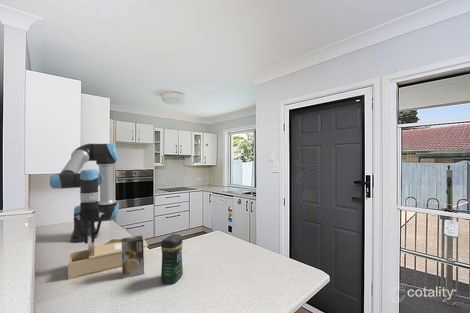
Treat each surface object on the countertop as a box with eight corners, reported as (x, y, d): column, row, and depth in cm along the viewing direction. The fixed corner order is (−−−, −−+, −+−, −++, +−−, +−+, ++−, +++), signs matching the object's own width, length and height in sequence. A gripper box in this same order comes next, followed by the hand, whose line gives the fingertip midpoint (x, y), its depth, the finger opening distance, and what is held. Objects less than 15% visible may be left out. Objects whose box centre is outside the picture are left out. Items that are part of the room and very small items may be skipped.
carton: (94, 256, 123) (94, 248, 123) (112, 245, 139) (111, 238, 139) (109, 256, 123) (109, 248, 123) (125, 245, 139) (124, 238, 139)
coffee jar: (175, 285, 92) (174, 240, 93) (158, 283, 94) (157, 239, 95) (185, 274, 102) (185, 233, 102) (170, 272, 104) (169, 232, 104)
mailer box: (71, 267, 110) (71, 252, 110) (128, 254, 124) (128, 241, 124) (68, 279, 98) (68, 263, 99) (132, 264, 112) (132, 250, 112)
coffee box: (142, 268, 108) (142, 234, 109) (144, 273, 103) (144, 238, 103) (121, 272, 104) (121, 238, 104) (121, 279, 98) (121, 242, 99)
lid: (89, 248, 115) (89, 239, 115) (143, 238, 129) (143, 230, 129) (88, 259, 103) (88, 249, 103) (148, 246, 116) (148, 237, 116)
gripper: (72, 203, 103) (72, 255, 102) (105, 200, 109) (105, 249, 109) (73, 201, 109) (73, 249, 109) (104, 198, 116) (104, 244, 115)
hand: (89, 249), depth 109 cm, fingers closed
